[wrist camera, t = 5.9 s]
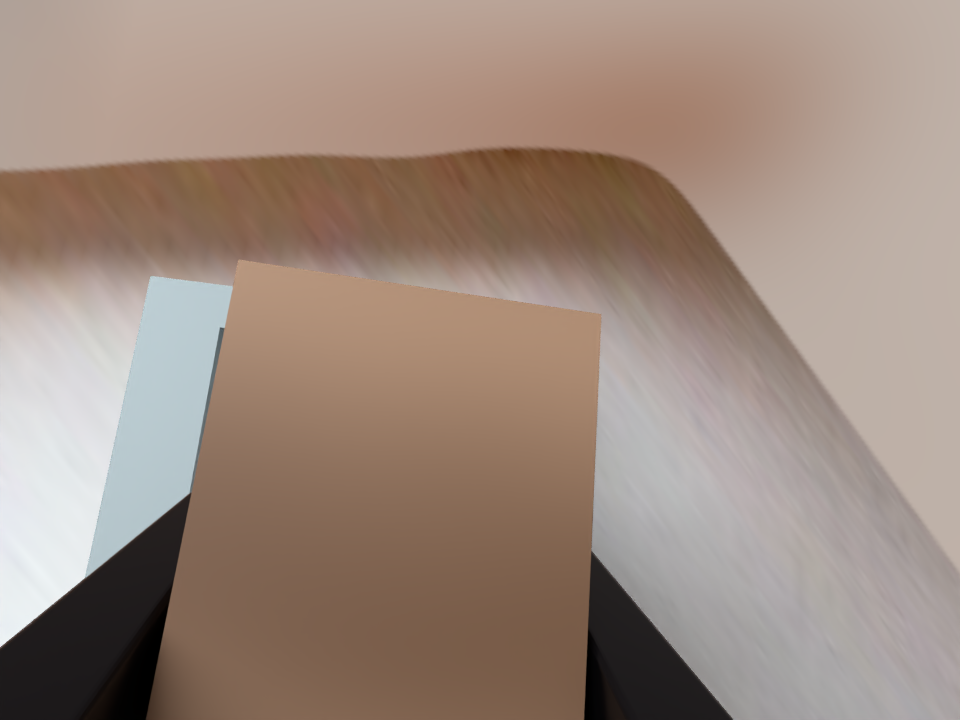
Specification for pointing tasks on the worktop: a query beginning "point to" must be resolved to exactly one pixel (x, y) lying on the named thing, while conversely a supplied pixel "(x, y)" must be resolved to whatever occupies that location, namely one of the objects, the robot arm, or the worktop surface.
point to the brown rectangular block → (387, 509)
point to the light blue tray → (161, 410)
